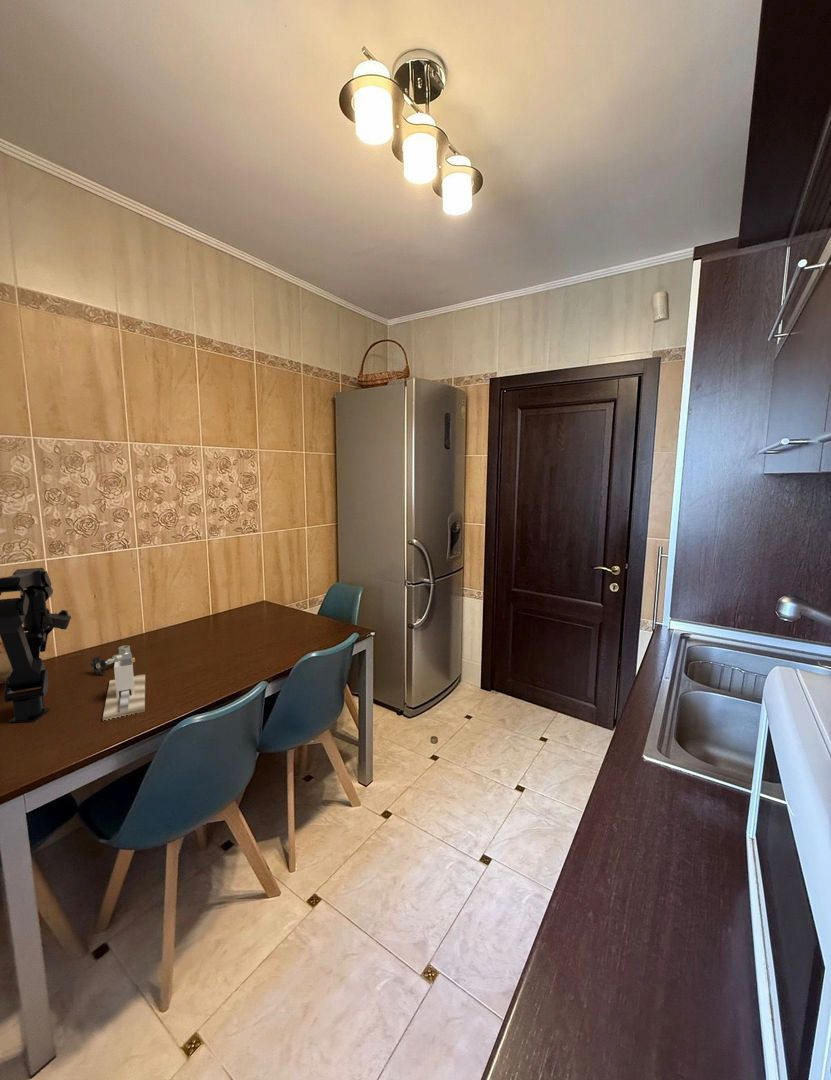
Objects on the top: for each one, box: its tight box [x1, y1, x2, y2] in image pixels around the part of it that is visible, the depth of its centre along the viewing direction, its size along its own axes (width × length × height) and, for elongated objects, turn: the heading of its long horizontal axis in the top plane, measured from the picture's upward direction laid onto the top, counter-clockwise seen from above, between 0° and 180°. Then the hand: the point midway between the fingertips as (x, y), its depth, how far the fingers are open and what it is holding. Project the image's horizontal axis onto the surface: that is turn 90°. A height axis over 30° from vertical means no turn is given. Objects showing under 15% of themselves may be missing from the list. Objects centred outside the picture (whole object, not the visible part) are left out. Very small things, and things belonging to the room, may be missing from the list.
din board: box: [102, 673, 146, 722], centre depth 137 cm, size 26×10×3 cm, turn 31°
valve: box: [90, 644, 132, 676], centre depth 156 cm, size 7×7×12 cm
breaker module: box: [113, 652, 136, 698], centre depth 136 cm, size 4×5×12 cm
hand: (39, 656), depth 137 cm, fingers open, 9 cm apart
